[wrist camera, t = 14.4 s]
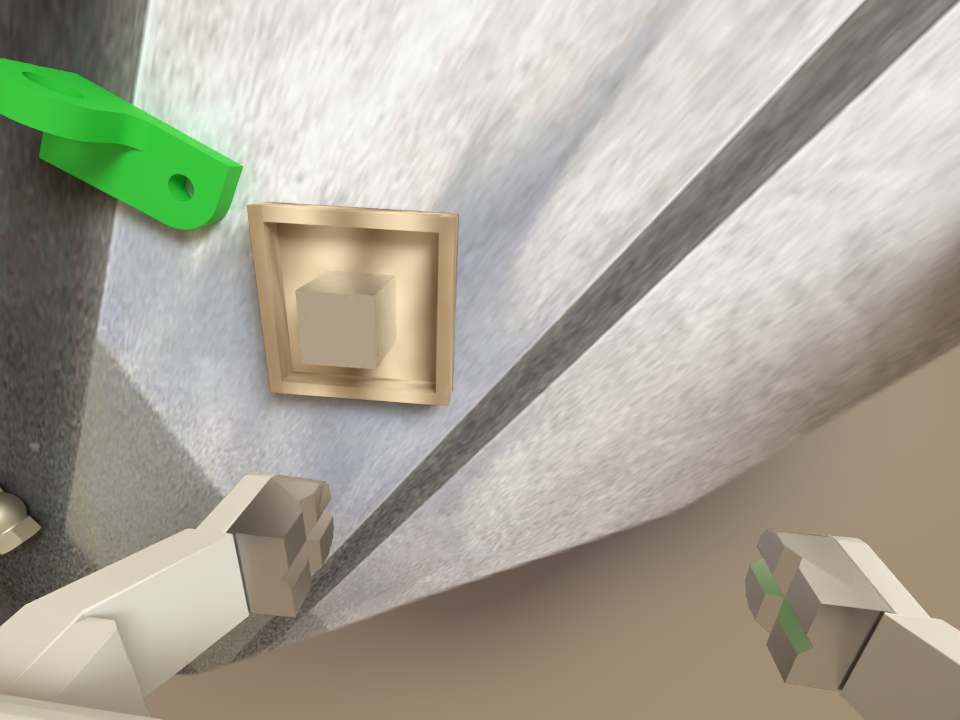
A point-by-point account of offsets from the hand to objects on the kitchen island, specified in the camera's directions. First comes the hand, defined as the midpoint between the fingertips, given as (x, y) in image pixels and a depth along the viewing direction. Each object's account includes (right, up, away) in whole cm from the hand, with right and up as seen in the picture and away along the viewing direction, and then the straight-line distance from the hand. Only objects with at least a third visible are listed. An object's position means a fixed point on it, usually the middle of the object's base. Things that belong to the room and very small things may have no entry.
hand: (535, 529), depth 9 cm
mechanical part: (-25, +18, +25) cm, 40 cm away
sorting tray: (-10, +8, +28) cm, 31 cm away
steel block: (-10, +7, +27) cm, 30 cm away
